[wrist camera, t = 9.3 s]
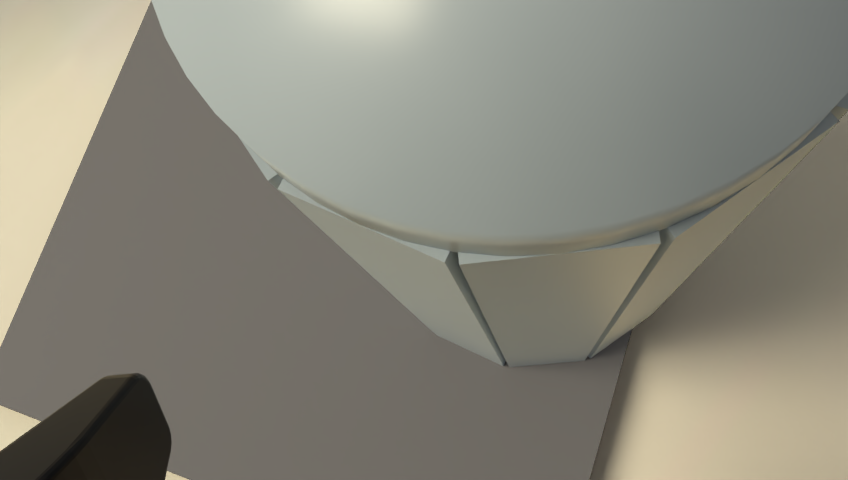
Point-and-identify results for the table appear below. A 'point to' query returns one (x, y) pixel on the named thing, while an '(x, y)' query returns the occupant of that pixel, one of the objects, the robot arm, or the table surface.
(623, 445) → the table surface
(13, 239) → the table surface
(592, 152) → the cover
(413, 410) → the mat
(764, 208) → the table surface
